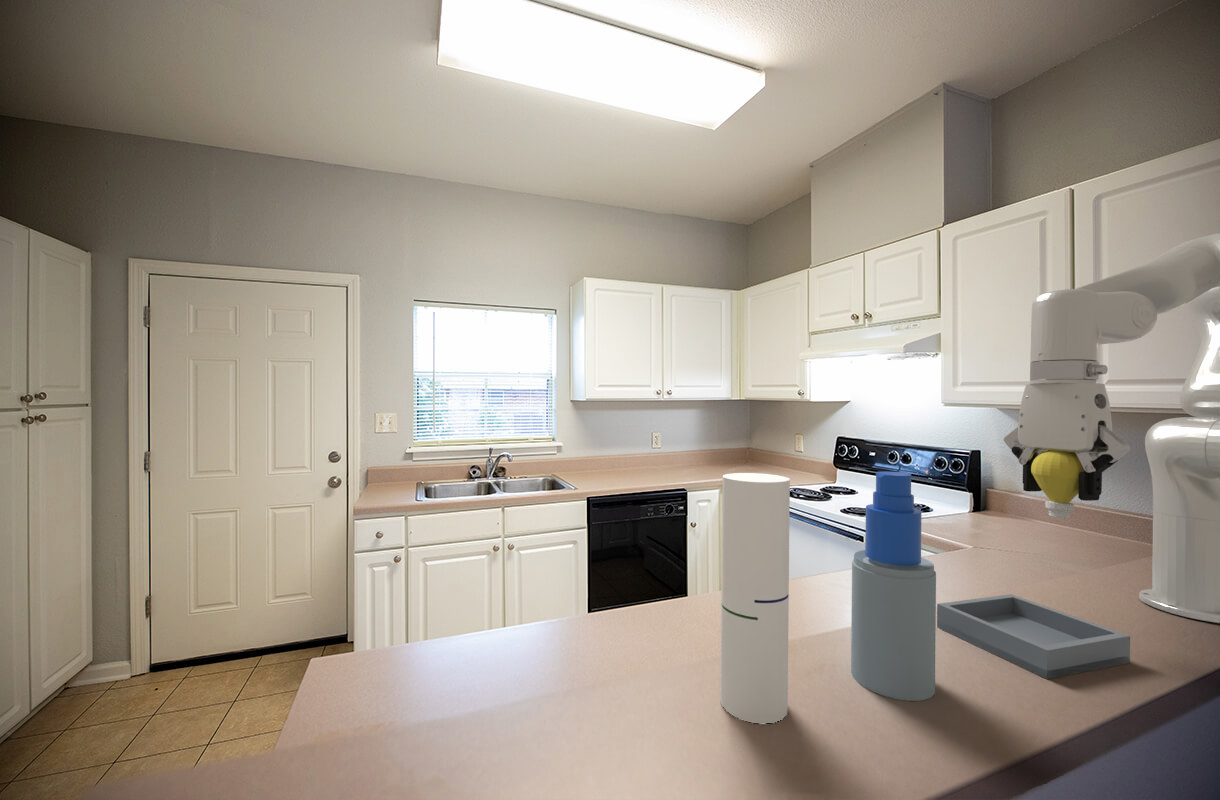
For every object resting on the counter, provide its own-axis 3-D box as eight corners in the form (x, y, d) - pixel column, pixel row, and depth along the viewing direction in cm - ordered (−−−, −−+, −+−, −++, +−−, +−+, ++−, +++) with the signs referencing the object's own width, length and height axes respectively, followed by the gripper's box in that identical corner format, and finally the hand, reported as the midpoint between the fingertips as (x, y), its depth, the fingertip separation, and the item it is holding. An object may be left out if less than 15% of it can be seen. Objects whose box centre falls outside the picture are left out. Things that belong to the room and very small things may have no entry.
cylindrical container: (797, 725, 53) (799, 482, 53) (727, 723, 53) (729, 481, 53) (776, 687, 60) (778, 473, 60) (714, 685, 60) (717, 472, 61)
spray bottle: (910, 662, 66) (912, 468, 66) (952, 703, 57) (954, 478, 58) (839, 659, 67) (841, 467, 67) (869, 699, 58) (872, 477, 58)
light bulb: (1019, 510, 80) (1021, 446, 80) (1066, 512, 79) (1068, 447, 79) (1051, 519, 73) (1052, 449, 73) (1103, 522, 72) (1104, 451, 73)
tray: (1010, 616, 81) (1011, 594, 81) (1129, 662, 67) (1130, 635, 67) (936, 627, 77) (937, 603, 77) (1047, 679, 63) (1047, 650, 63)
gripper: (1155, 373, 69) (1152, 506, 69) (1020, 378, 86) (1017, 485, 86) (1116, 370, 67) (1113, 507, 67) (986, 376, 84) (983, 486, 84)
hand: (1059, 494), depth 76 cm, fingers closed on light bulb, 6 cm apart
